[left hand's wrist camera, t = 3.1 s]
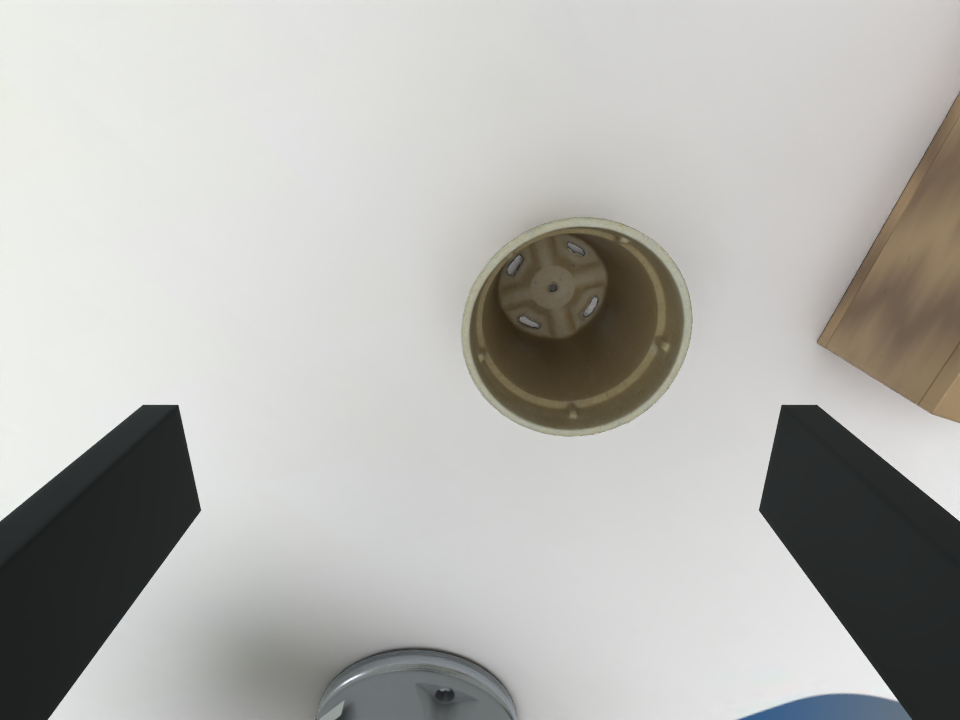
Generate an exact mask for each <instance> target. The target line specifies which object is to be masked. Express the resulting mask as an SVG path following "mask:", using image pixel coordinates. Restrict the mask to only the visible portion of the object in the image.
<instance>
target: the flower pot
mask: <svg viewBox="0 0 960 720" xmlns="http://www.w3.org/2000/svg"><path fill="white" fill-rule="evenodd" d="M568 242H570V243H572V244H574V245H576V246H578V247H579V248H581V249H582V250H583V251H584V256H582V255H581V254H579V253H577V252H574V253H572V252H573V251H572V249H570V248H569V247H567V244H568ZM518 255H521V256H522V257H523V259H524V260H523V262H522V263H521V265H520V267H519V268H518V269H517V271H516V273H515V275H514V276H511V275H509V274H508V273H507V269H508V267H509V265H510V264H511V263H512V262H513V261H514V259H515V258H516V257H517V256H518ZM552 284H554V285H556V286H557V290H556V291H550V285H552ZM593 297H597V298H598V301H597V305H596V307H595V308H594V310H593V312H592V313H591V314H590V315H588V316H585V317H584V316H583V313H584V312H585V310H586V309H587V307H588V305H589V304H590V302H591V301H592V298H593ZM521 316H526V317H528V318H529V319H530V320H531V321H534V322H536V323H538V324H539V325H540V327H539V329H538V328H536V327H530V326H528V325H525V324H523V323H521V322H520V321H519V318H520V317H521ZM691 330H692V309H691V302H690V297H689V293H688V289H687V286H686V283H685V280H684V278H683V276H682V274H681V272H680V270H679V269H678V267H677V265H676V264H675V263H674V262H673V260H672V258H671V257H670V256H669V255H668V254H667V253H666V252H665V251H664V250H663V249H662V248H661V247H660V246H659V245H658V244H657V243H656V242H655V241H653V240H652V239H651V238H649V237H647V236H646V235H644V234H643V233H641V232H639V231H637V230H636V229H633V228H631V227H629V226H626V225H624V224H621V223H618V222H614V221H611V220H606V219H601V218H588V217H581V218H568V219H561V220H556V221H553V222H549V223H545V224H542V225H540V226H538V227H535V228H533V229H531V230H529V231H527V232H525V233H523V234H522V235H520V236H518V237H517V238H515V239H514V240H512V241H511V242H509V243H508V244H507V245H506V246H504V247H503V248H502V249H501V250H500V251H498V252H497V253H496V254H495V255H494V256H493V258H492V259H491V260H490V261H489V262H488V263H487V264H486V266H485V267H484V268H483V270H482V271H481V273H480V274H479V276H478V277H477V279H476V281H475V283H474V285H473V287H472V289H471V291H470V294H469V296H468V299H467V302H466V306H465V310H464V314H463V321H462V346H463V354H464V358H465V361H466V365H467V368H468V370H469V373H470V375H471V377H472V379H473V381H474V383H475V385H476V386H477V388H478V389H479V391H480V392H481V394H482V395H483V397H484V398H485V399H486V400H487V401H488V402H489V403H490V404H491V405H492V406H493V407H494V408H496V409H497V410H498V411H499V412H500V413H501V414H503V415H504V416H506V417H508V418H509V419H510V420H513V421H514V422H515V423H517V424H519V425H522V426H524V427H526V428H529V429H532V430H535V431H538V432H541V433H545V434H550V435H559V436H583V435H593V434H596V433H601V432H604V431H607V430H611V429H614V428H616V427H618V426H620V425H623V424H625V423H628V422H630V421H631V420H633V419H635V418H636V417H638V416H639V415H641V414H642V413H643V412H645V411H646V410H648V409H649V408H650V407H651V406H652V405H653V404H654V403H656V402H657V400H658V399H659V398H660V397H661V396H662V395H663V394H664V393H665V392H666V391H667V389H668V388H669V386H670V385H671V383H672V382H673V380H674V378H675V377H676V375H677V374H678V372H679V370H680V368H681V366H682V364H683V361H684V359H685V356H686V353H687V350H688V347H689V343H690V338H691Z"/></svg>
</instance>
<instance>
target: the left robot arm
mask: <svg viewBox="0 0 960 720" xmlns="http://www.w3.org/2000/svg"><path fill="white" fill-rule="evenodd" d="M200 511H201V508H200V503H199V499H198V494H197V489H196V485H195V480H194V475H193V471H192V466H191V462H190V457H189V452H188V448H187V443H186V438H185V434H184V429H183V425H182V420H181V415H180V411H179V406H178V405H142V406H141V407H140V408H139V409H138V410H136V411H135V412H134V413H133V414H131V415H130V416H129V417H128V418H127V419H125V420H124V421H123V422H122V423H120V424H119V425H118V426H117V427H115V428H114V429H113V430H112V431H111V432H109V433H108V434H107V435H106V436H104V437H103V438H102V439H101V440H100V441H98V442H97V443H96V444H95V445H93V446H92V447H91V448H90V449H89V450H87V451H86V452H85V453H84V454H82V455H81V456H80V457H79V458H78V459H76V460H75V461H74V462H73V463H71V464H70V465H69V466H68V467H66V468H65V469H64V470H63V471H62V472H60V473H59V474H58V475H57V476H55V477H54V478H53V479H52V480H51V481H49V482H48V483H47V484H46V485H44V486H43V487H42V488H41V489H40V490H38V491H37V492H36V493H35V494H33V495H32V496H31V497H30V498H29V499H27V500H26V501H25V502H24V503H22V504H21V505H20V506H19V507H17V508H16V509H15V510H14V511H13V512H11V513H10V514H9V515H8V516H6V517H5V518H4V519H3V520H2V521H0V720H48V718H49V717H50V716H51V714H52V713H53V712H54V710H55V709H56V708H57V706H58V705H59V703H60V702H61V701H62V699H63V698H64V697H65V695H66V694H67V693H68V691H69V690H70V688H71V687H72V686H73V684H74V683H75V682H76V680H77V679H78V678H79V676H80V675H81V673H82V672H83V671H84V669H85V668H86V667H87V665H88V664H89V663H90V661H91V660H92V658H93V657H94V656H95V654H96V653H97V652H98V650H99V649H100V648H101V646H102V645H103V643H104V642H105V641H106V639H107V638H108V637H109V635H110V634H111V633H112V631H113V630H114V628H115V627H116V626H117V624H118V623H119V622H120V620H121V619H122V618H123V616H124V615H125V613H126V612H127V611H128V609H129V608H130V607H131V605H132V604H133V603H134V601H135V600H136V598H137V597H138V596H139V594H140V593H141V592H142V590H143V589H144V588H145V586H146V585H147V583H148V582H149V581H150V579H151V578H152V577H153V575H154V574H155V573H156V571H157V570H158V568H159V567H160V566H161V564H162V563H163V562H164V560H165V559H166V558H167V556H168V555H169V553H170V552H171V551H172V549H173V548H174V547H175V545H176V544H177V543H178V541H179V540H180V538H181V537H182V536H183V534H184V533H185V532H186V530H187V529H188V528H189V526H190V525H191V523H192V522H193V521H194V519H195V518H196V517H197V515H198V514H199V513H200ZM759 511H760V513H761V514H762V515H763V517H764V518H765V519H766V521H767V522H768V523H769V525H770V526H771V528H772V529H773V530H774V532H775V533H776V534H777V536H778V537H779V538H780V540H781V541H782V543H783V544H784V545H785V547H786V548H787V549H788V551H789V552H790V553H791V555H792V556H793V558H794V559H795V560H796V562H797V563H798V564H799V566H800V567H801V568H802V570H803V571H804V573H805V574H806V575H807V577H808V578H809V579H810V581H811V582H812V583H813V585H814V586H815V588H816V589H817V590H818V592H819V593H820V594H821V596H822V597H823V598H824V600H825V601H826V603H827V604H828V605H829V607H830V608H831V609H832V611H833V612H834V613H835V615H836V616H837V618H838V619H839V620H840V622H841V623H842V624H843V626H844V627H845V628H846V630H847V631H848V633H849V634H850V635H851V637H852V638H853V639H854V641H855V642H856V643H857V645H858V646H859V648H860V649H861V650H862V652H863V653H864V654H865V656H866V657H867V658H868V660H869V661H870V663H871V664H872V665H873V667H874V668H875V669H876V671H877V672H878V673H879V675H880V676H881V678H882V679H883V680H884V682H885V683H886V684H887V686H888V687H889V688H890V690H891V691H892V693H893V694H894V695H895V697H896V698H897V699H898V701H899V702H900V703H901V705H902V706H903V708H904V709H905V710H906V712H907V713H908V714H909V716H910V717H911V718H912V720H960V521H958V520H957V519H956V518H955V517H954V516H952V515H951V514H950V513H949V512H947V511H946V510H945V509H944V508H943V507H941V506H940V505H939V504H938V503H936V502H935V501H934V500H933V499H931V498H930V497H929V496H928V495H927V494H925V493H924V492H923V491H922V490H920V489H919V488H918V487H917V486H916V485H914V484H913V483H912V482H911V481H909V480H908V479H907V478H906V477H905V476H903V475H902V474H901V473H900V472H898V471H897V470H896V469H895V468H894V467H892V466H891V465H890V464H889V463H887V462H886V461H885V460H884V459H882V458H881V457H880V456H879V455H878V454H876V453H875V452H874V451H873V450H871V449H870V448H869V447H868V446H867V445H865V444H864V443H863V442H862V441H860V440H859V439H858V438H857V437H856V436H854V435H853V434H852V433H851V432H849V431H848V430H847V429H846V428H845V427H843V426H842V425H841V424H840V423H838V422H837V421H836V420H835V419H833V418H832V417H831V416H830V415H829V414H827V413H826V412H825V411H824V410H822V409H821V408H820V407H819V406H818V405H782V406H781V411H780V415H779V420H778V425H777V429H776V434H775V438H774V443H773V448H772V452H771V457H770V462H769V466H768V471H767V475H766V480H765V485H764V489H763V494H762V499H761V503H760V508H759ZM315 720H517V715H516V710H515V706H514V704H513V701H512V699H511V697H510V695H509V694H508V692H507V691H506V689H505V688H504V687H503V685H502V684H501V683H500V682H499V681H498V680H497V679H496V678H495V677H494V676H492V675H491V674H490V673H489V672H487V671H486V670H484V669H483V668H481V667H479V666H478V665H476V664H474V663H472V662H470V661H467V660H465V659H463V658H460V657H457V656H454V655H450V654H446V653H442V652H436V651H428V650H399V651H392V652H386V653H382V654H378V655H375V656H371V657H369V658H366V659H364V660H361V661H359V662H357V663H355V664H353V665H352V666H350V667H348V668H347V669H345V670H344V671H343V672H341V673H340V674H339V675H338V676H337V677H336V678H335V679H334V680H333V681H332V682H331V683H330V685H329V686H328V687H327V689H326V691H325V692H324V694H323V696H322V699H321V702H320V705H319V708H318V712H317V716H316V719H315Z"/></svg>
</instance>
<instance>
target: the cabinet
mask: <svg viewBox="0 0 960 720" xmlns="http://www.w3.org/2000/svg"><path fill="white" fill-rule="evenodd" d="M817 343H818V344H820V345H821V346H823V347H824V348H826V349H828V350H829V351H831V352H832V353H834V354H836V355H837V356H839V357H841V358H842V359H844V360H845V361H847V362H849V363H850V364H852V365H853V366H855V367H857V368H858V369H860V370H861V371H863V372H865V373H866V374H868V375H869V376H871V377H873V378H874V379H876V380H878V381H879V382H881V383H882V384H884V385H886V386H887V387H889V388H890V389H892V390H894V391H895V392H897V393H898V394H900V395H902V396H903V397H905V398H906V399H908V400H910V401H911V402H913V403H914V404H916V405H918V406H920V407H921V408H923V409H924V410H926V411H927V412H929V413H931V414H933V415H936V416H939V417H942V418H945V419H948V420H952V421H955V422H958V423H960V94H959V96H958V97H957V99H956V101H955V103H954V104H953V106H952V108H951V110H950V111H949V113H948V115H947V117H946V118H945V120H944V122H943V124H942V125H941V127H940V129H939V131H938V132H937V134H936V136H935V138H934V139H933V141H932V143H931V145H930V146H929V148H928V150H927V152H926V153H925V155H924V157H923V159H922V160H921V162H920V164H919V166H918V167H917V169H916V171H915V173H914V174H913V176H912V178H911V180H910V181H909V183H908V185H907V186H906V188H905V190H904V192H903V193H902V195H901V197H900V199H899V200H898V202H897V204H896V206H895V207H894V209H893V211H892V213H891V214H890V216H889V218H888V220H887V221H886V223H885V225H884V227H883V228H882V230H881V232H880V234H879V235H878V237H877V239H876V241H875V242H874V244H873V246H872V248H871V249H870V251H869V253H868V255H867V256H866V258H865V260H864V262H863V263H862V265H861V267H860V269H859V270H858V272H857V274H856V276H855V277H854V279H853V281H852V283H851V284H850V286H849V288H848V290H847V291H846V293H845V295H844V297H843V298H842V300H841V302H840V304H839V305H838V307H837V309H836V311H835V312H834V314H833V316H832V318H831V319H830V321H829V323H828V325H827V326H826V328H825V330H824V332H823V333H822V335H821V337H820V339H819V340H818V342H817Z"/></svg>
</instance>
